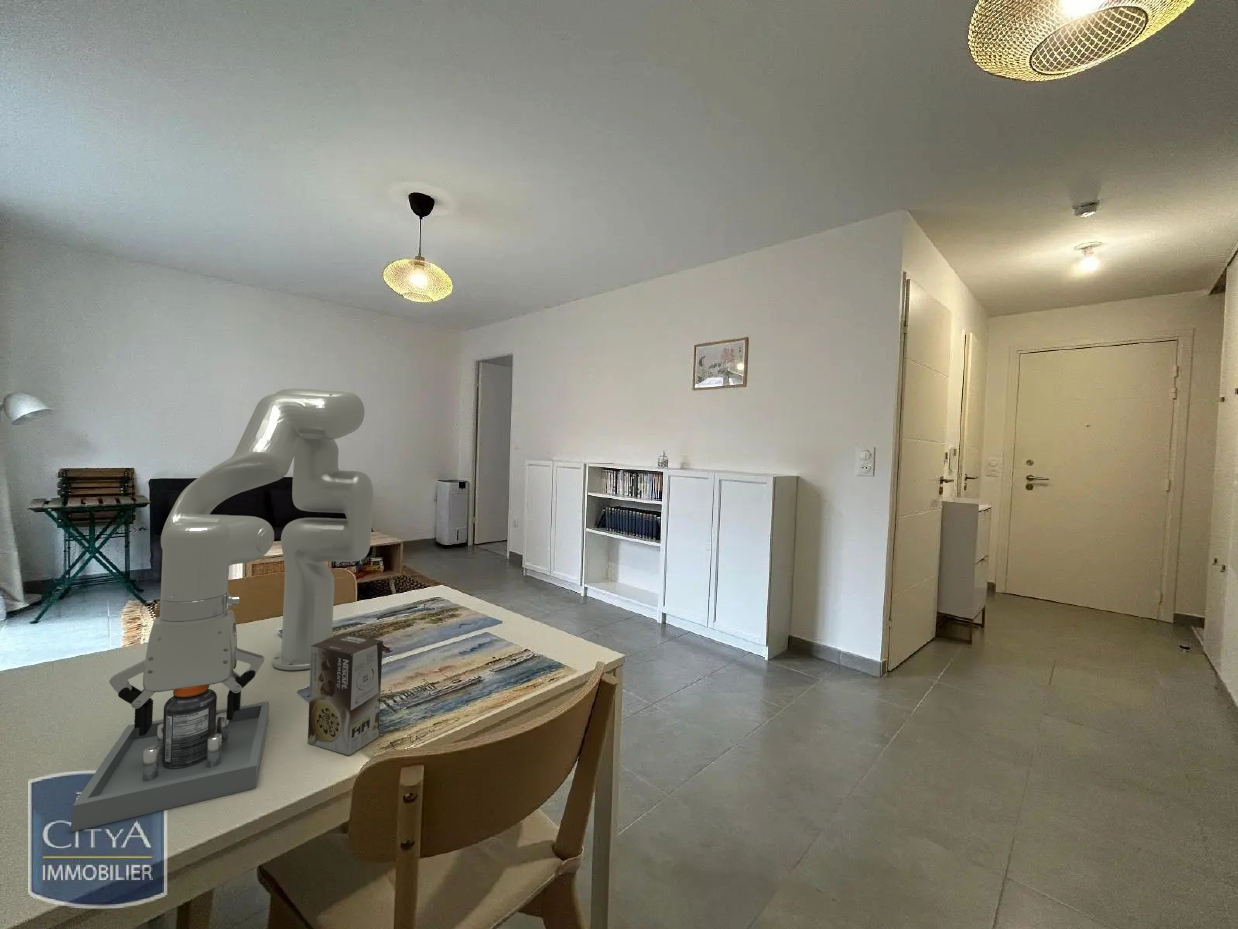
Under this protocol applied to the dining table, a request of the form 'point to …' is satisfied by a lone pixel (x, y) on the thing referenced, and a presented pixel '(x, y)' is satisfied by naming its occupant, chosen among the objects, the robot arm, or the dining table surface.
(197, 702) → the pill bottle
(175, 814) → the dining table surface
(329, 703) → the coffee box
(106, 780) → the pin tray
